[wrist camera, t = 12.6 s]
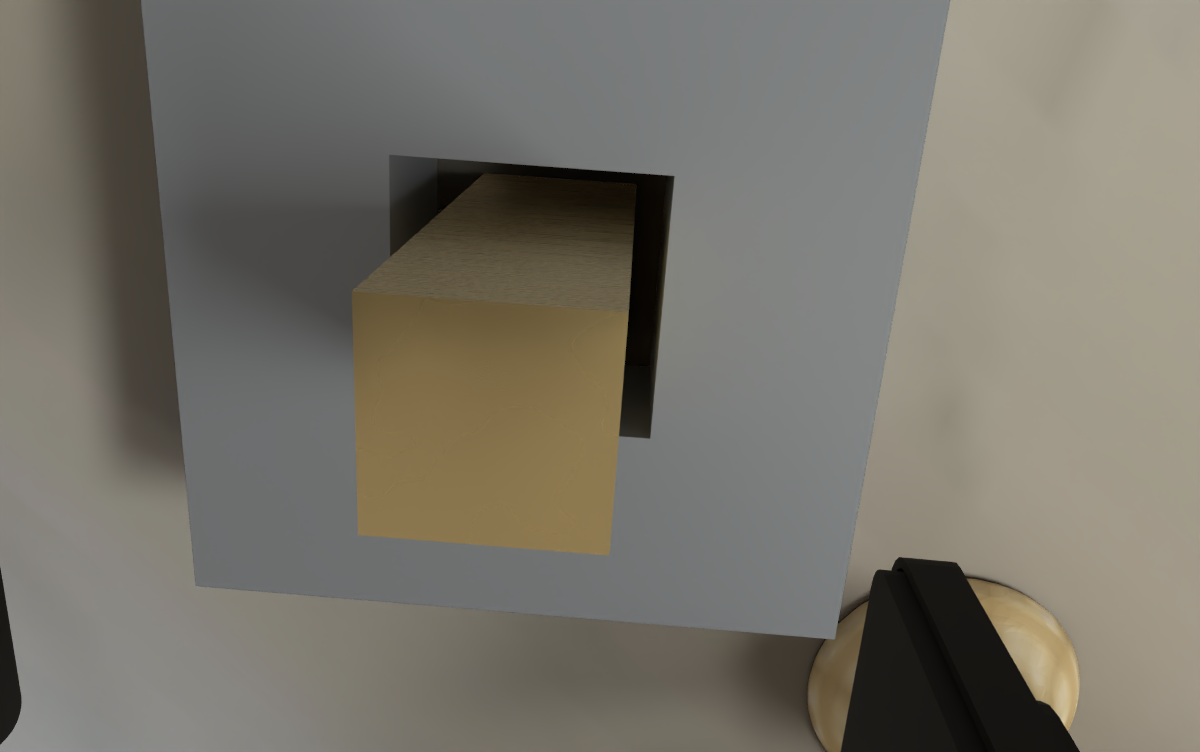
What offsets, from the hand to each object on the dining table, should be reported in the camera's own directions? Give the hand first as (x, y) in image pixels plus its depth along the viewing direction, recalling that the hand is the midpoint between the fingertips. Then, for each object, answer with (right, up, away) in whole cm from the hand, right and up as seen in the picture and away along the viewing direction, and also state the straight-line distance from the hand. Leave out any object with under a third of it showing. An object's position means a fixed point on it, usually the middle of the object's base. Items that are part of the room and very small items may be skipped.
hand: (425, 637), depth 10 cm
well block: (0, +6, +16) cm, 17 cm away
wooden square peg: (+1, +6, +16) cm, 17 cm away
